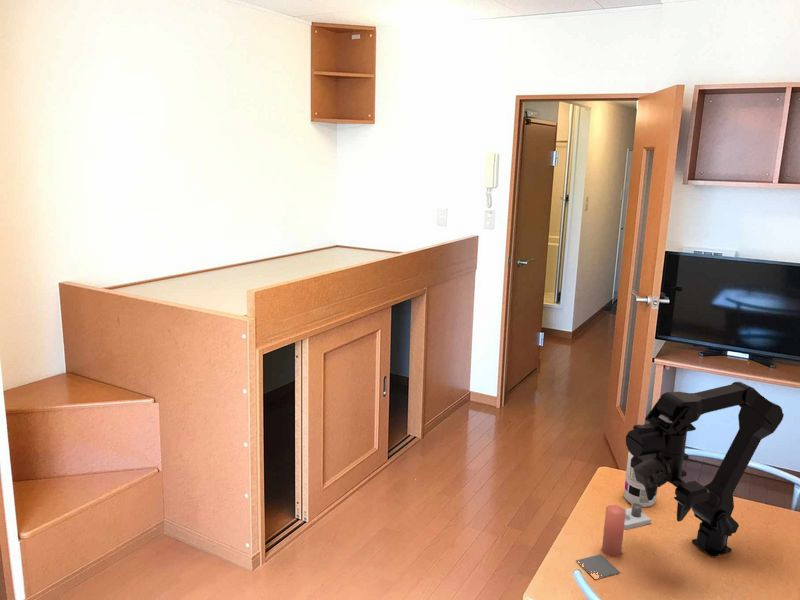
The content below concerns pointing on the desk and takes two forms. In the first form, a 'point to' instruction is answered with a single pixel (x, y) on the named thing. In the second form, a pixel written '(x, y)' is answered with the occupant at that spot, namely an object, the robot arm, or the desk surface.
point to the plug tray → (635, 517)
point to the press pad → (598, 566)
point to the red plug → (613, 530)
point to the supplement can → (635, 488)
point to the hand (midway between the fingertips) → (664, 510)
